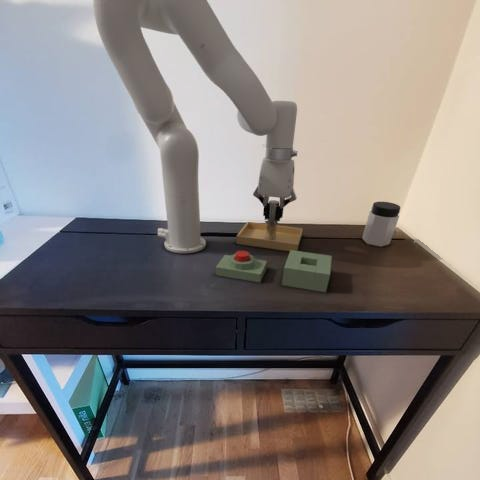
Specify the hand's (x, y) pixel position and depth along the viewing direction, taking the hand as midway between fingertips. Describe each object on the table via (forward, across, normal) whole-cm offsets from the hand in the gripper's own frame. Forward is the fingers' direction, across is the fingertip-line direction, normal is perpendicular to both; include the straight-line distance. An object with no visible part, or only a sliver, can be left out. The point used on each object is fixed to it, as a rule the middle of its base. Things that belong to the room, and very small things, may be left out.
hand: (272, 218), depth 99 cm
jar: (+7, -34, -11) cm, 36 cm away
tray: (+7, 0, 0) cm, 7 cm away
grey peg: (+6, 0, 0) cm, 6 cm away
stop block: (+7, +3, +25) cm, 26 cm away
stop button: (+3, +3, +25) cm, 25 cm away
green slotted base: (+7, -14, +23) cm, 28 cm away
